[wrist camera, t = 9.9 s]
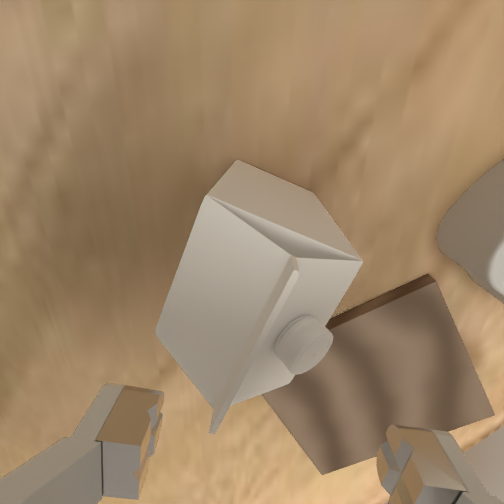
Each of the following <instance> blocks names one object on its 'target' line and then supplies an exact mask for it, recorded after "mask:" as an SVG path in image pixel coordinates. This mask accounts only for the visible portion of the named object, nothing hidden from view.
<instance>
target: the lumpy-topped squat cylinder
mask: <svg viewBox="0 0 504 504" xmlns="http://www.w3.org/2000/svg"><path fill="white" fill-rule="evenodd" d="M436 241H437V246H438V248H439V249H440V251H441V252H442V253H443V254H444V255H446V256H447V257H449V258H450V259H451V260H453V261H454V262H456V263H457V264H458V265H460V266H461V267H463V268H464V269H465V271H466V272H467V274H468V275H469V276H470V278H471V279H472V280H473V281H474V282H475V283H477V284H478V285H479V286H481V287H482V288H483V289H485V290H486V291H487V292H489V293H490V294H492V295H493V296H494V297H496V298H497V299H498V300H500V301H501V302H502V303H504V159H503V160H502V161H500V162H499V163H498V164H496V165H495V166H494V167H493V168H491V169H490V170H489V171H488V172H487V173H485V174H484V175H483V176H482V177H481V178H480V179H478V180H477V181H476V182H475V183H474V184H473V185H472V186H471V187H470V188H469V189H468V190H467V191H466V192H465V193H464V194H463V195H462V196H461V197H460V198H459V199H458V200H457V202H456V203H455V204H454V205H453V206H452V207H451V208H450V209H449V210H448V211H447V213H446V214H445V215H444V217H443V219H442V220H441V222H440V224H439V227H438V230H437V236H436Z"/></svg>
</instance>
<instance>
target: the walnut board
mask: <svg viewBox="0 0 504 504" xmlns="http://www.w3.org/2000/svg"><path fill="white" fill-rule="evenodd" d="M325 327H326V328H327V329H328V330H329V331H330V332H331V333H332V334H333V342H332V344H331V347H330V348H329V350H328V352H327V353H326V355H325V356H324V357H323V358H322V360H321V361H320V362H319V363H318V364H317V365H315V366H314V367H313V368H311V369H310V370H308V371H306V372H304V373H302V374H298V375H295V376H294V378H293V379H292V381H291V382H290V383H289V384H287V385H285V386H282V387H279V388H277V389H274V390H271V391H269V392H266V393H263V394H262V396H263V397H264V398H265V400H266V401H267V402H268V404H269V405H270V406H271V408H272V409H273V410H274V412H275V413H276V414H277V416H278V417H279V418H280V420H281V421H282V422H283V424H284V425H285V426H286V428H287V429H288V430H289V432H290V433H291V434H292V436H293V437H294V438H295V440H296V441H297V442H298V444H299V445H300V446H301V448H302V449H303V450H304V452H305V453H306V454H307V456H308V457H309V458H310V460H311V461H312V462H313V464H314V465H315V466H316V468H317V469H318V470H319V472H320V473H321V474H322V475H324V474H327V473H330V472H332V471H335V470H338V469H341V468H344V467H347V466H350V465H353V464H356V463H358V462H361V461H364V460H367V459H370V458H373V457H376V456H377V453H378V450H379V448H380V445H382V444H383V443H385V442H387V441H388V439H387V437H386V431H387V429H388V427H389V426H391V425H392V424H395V425H402V426H410V427H418V428H425V429H432V430H439V431H446V432H448V431H451V430H454V429H457V428H459V427H462V426H465V425H468V424H471V423H474V422H477V421H480V420H483V419H485V418H488V417H491V416H494V415H495V414H494V412H493V409H492V407H491V405H490V403H489V400H488V398H487V396H486V393H485V391H484V389H483V387H482V384H481V382H480V380H479V378H478V375H477V373H476V371H475V368H474V366H473V364H472V362H471V359H470V357H469V355H468V353H467V350H466V348H465V346H464V343H463V341H462V339H461V337H460V334H459V332H458V330H457V328H456V325H455V323H454V321H453V318H452V316H451V314H450V312H449V309H448V307H447V305H446V303H445V300H444V298H443V296H442V293H441V291H440V289H439V287H438V284H437V282H436V281H435V280H434V279H433V278H432V277H431V276H430V275H429V274H427V275H425V276H423V277H420V278H418V279H416V280H414V281H412V282H410V283H407V284H405V285H403V286H401V287H399V288H397V289H394V290H392V291H390V292H388V293H386V294H384V295H381V296H379V297H377V298H375V299H373V300H371V301H368V302H366V303H364V304H362V305H360V306H358V307H355V308H353V309H351V310H349V311H347V312H345V313H342V314H340V315H338V316H336V317H334V318H332V319H329V321H328V322H327V324H326V326H325Z"/></svg>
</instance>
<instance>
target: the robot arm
mask: <svg viewBox="0 0 504 504" xmlns="http://www.w3.org/2000/svg"><path fill="white" fill-rule="evenodd" d="M163 399H164V392H162V391H156V390H150V389H144V388H139V387H133V386H127V385H126V386H125V385H119V384H113V383H106V384H105V385H104V386H103V387H102V388H101V389H100V391H99V393H98V394H97V396H96V398H95V399H94V401H93V402H92V404H91V406H90V407H89V409H88V410H87V412H86V414H85V415H84V417H83V419H82V420H81V422H80V423H79V425H78V427H77V428H76V430H75V431H74V433H73V435H72V436H71V438H69V437H64V438H62V439H61V440H59V441H58V442H56V443H54V444H53V445H51V446H50V447H48V448H47V449H45V450H44V451H42V452H41V453H39V454H38V455H36V456H35V457H33V458H32V459H30V460H29V461H27V462H25V463H24V464H22V465H21V466H19V467H18V468H16V469H15V470H13V471H12V472H10V473H9V474H7V475H6V476H4V477H3V478H1V479H0V504H97V503H98V502H99V501H100V500H101V499H102V496H107V497H117V498H127V499H137V500H138V499H139V497H140V494H141V491H142V488H143V485H144V482H145V479H146V476H147V473H148V464H149V457H151V456H152V455H153V454H154V452H155V448H156V445H157V442H158V438H159V434H160V429H161V423H162V413H161V412H160V410H161V408H162V405H163ZM386 437H387V439H388V441H387V442H385V443H383V444H382V445H380V448H379V450H378V453H377V471H378V476H379V479H380V482H381V485H382V486H383V487H384V488H385V490H386V491H387V492H388V493H389V494H390V498H389V501H388V504H504V503H503V502H502V501H501V500H500V499H498V498H497V497H495V496H490V495H489V493H488V492H487V490H486V488H485V487H484V485H483V484H482V482H481V480H480V479H479V477H478V475H477V474H476V472H475V471H474V469H473V468H472V466H471V464H470V463H469V461H468V460H467V458H466V456H465V455H464V453H463V452H462V450H461V448H460V447H459V445H458V444H457V442H456V440H455V439H454V437H453V436H452V435H451V434H450V433H449V432H446V431H439V430H432V429H425V428H418V427H410V426H402V425H395V424H392V425H391V426H389V427H388V429H387V431H386Z"/></svg>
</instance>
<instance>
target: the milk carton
mask: <svg viewBox="0 0 504 504" xmlns="http://www.w3.org/2000/svg"><path fill="white" fill-rule="evenodd" d="M362 264H363V260H362V258H361V257H360V255H359V254H358V253H357V251H356V250H355V248H354V247H353V246H352V244H351V243H350V242H349V240H348V239H347V238H346V236H345V235H344V233H343V232H342V231H341V229H340V228H339V227H338V225H337V224H336V223H335V221H334V220H333V219H332V217H331V216H330V214H329V213H328V212H327V210H326V209H325V208H324V206H323V205H322V204H321V202H320V201H319V199H318V198H317V197H316V195H315V194H314V193H313V192H311V191H309V190H306V189H304V188H302V187H299V186H297V185H295V184H293V183H290V182H288V181H286V180H284V179H281V178H279V177H277V176H274V175H272V174H270V173H268V172H265V171H263V170H261V169H258V168H256V167H254V166H252V165H249V164H247V163H245V162H242V161H240V160H238V159H237V160H236V161H235V162H234V163H233V164H232V165H231V167H230V168H229V169H228V170H227V171H226V172H225V174H224V175H223V176H222V177H221V178H220V179H219V180H218V182H217V183H216V184H215V185H214V186H213V187H212V189H211V190H210V191H209V192H208V193H207V194H206V195H205V197H204V199H203V201H202V204H201V207H200V209H199V212H198V214H197V217H196V220H195V223H194V225H193V228H192V231H191V233H190V236H189V239H188V242H187V244H186V247H185V250H184V253H183V255H182V258H181V261H180V263H179V266H178V269H177V272H176V274H175V277H174V280H173V283H172V285H171V288H170V291H169V293H168V296H167V299H166V302H165V304H164V307H163V310H162V312H161V315H160V318H159V321H158V324H157V326H156V330H155V335H156V336H157V338H158V339H159V340H160V341H161V343H162V344H163V345H164V347H165V348H166V349H167V350H168V352H169V353H170V354H171V355H172V357H173V358H174V359H175V361H176V362H177V363H178V364H179V366H180V367H181V368H182V370H183V371H184V372H185V373H186V375H187V376H188V377H189V379H190V380H191V381H192V382H193V384H194V385H195V386H196V387H197V389H198V390H199V391H200V393H201V394H202V395H203V396H204V398H205V399H206V400H207V402H208V403H209V404H210V405H211V407H212V408H213V414H212V419H211V425H210V430H209V433H211V434H215V433H216V431H217V429H218V427H219V425H220V423H221V422H222V420H223V418H224V416H225V414H226V412H227V410H228V408H229V407H230V406H231V405H234V404H237V403H239V402H242V401H245V400H247V399H250V398H253V397H255V396H258V395H261V394H263V393H266V392H269V391H271V390H274V389H277V388H279V387H282V386H285V385H287V384H289V383H290V382H291V381H292V379H293V378H294V376H295V375H298V374H302V373H304V372H306V371H308V370H310V369H311V368H313V367H314V366H315V365H317V364H318V363H319V362H320V361H321V360H322V358H323V357H324V356H325V355H326V353H327V352H328V350H329V348H330V347H331V344H332V342H333V334H332V333H331V332H330V331H329V330H328V329H327V328H326V327H325V326H326V324H327V322H328V321H329V319H330V317H331V316H332V314H333V312H334V311H335V309H336V308H337V306H338V304H339V303H340V301H341V299H342V298H343V296H344V295H345V293H346V291H347V290H348V288H349V286H350V285H351V283H352V281H353V280H354V278H355V276H356V274H357V273H358V271H359V269H360V267H361V266H362Z"/></svg>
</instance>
